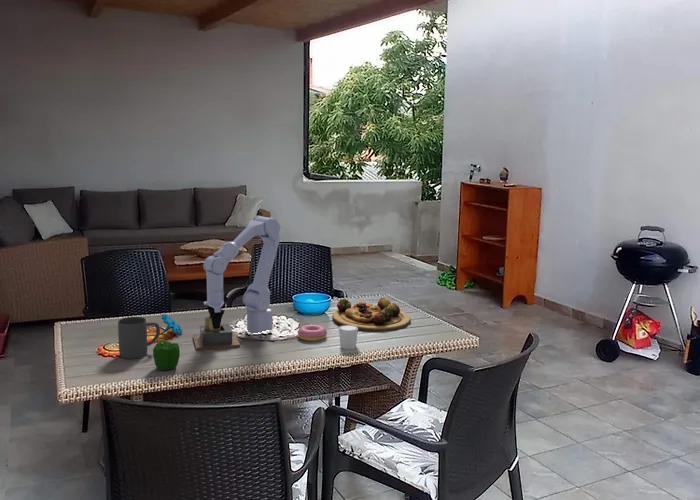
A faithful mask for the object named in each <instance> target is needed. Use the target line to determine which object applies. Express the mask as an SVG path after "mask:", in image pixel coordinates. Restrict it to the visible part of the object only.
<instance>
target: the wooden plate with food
mask: <svg viewBox="0 0 700 500" xmlns="http://www.w3.org/2000/svg"><path fill="white" fill-rule="evenodd" d="M336 307H337V310H334V312H333V313H332V315H331V318H332V321H333V322H334V323H335V324H336V325H338V326H339V327H340V326H344V325H353V326H356V327H358V332H359V331H360V332H368V333H369V332H370V333H371V332H373V333H375V332H377V333H378V332H380V333H381V332H391V331H397V330H401V329H404V328H406V327H408V326H409V325H410V323H411V317H410V315H409V314H408V313H407V312H405V311H402V310H401V309H400V307H399V305H398V304H397V303H395V302H391V301H390V300H389V299H388V298H387V297H385V296H381V297H380V299H379V300H378V302H377V304H376V305H375V304H373V303H366V302H364V301H359V302H356V303H354V305H352V303H351V301H350V300H348V299H347V298H340V299H339V301H338V302H337V304H336Z"/></svg>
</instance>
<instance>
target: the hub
mask: <svg viewBox="0 0 700 500" xmlns="http://www.w3.org/2000/svg"><path fill="white" fill-rule="evenodd" d="M220 330H221V331H211V332H209V331H208V330H207V331H205V324H204V325H199V334H192V338H193V342H194V345H195V346H194V347H195V350H196V351H208V350H209V351H210V350H220V349H233V348H240V346H241V344H240V341H239V339H238V337H237V335H236V333H235V331H232V328H231V326H230V324H229V323H221V324H220Z"/></svg>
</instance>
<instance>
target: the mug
mask: <svg viewBox="0 0 700 500" xmlns="http://www.w3.org/2000/svg"><path fill="white" fill-rule="evenodd" d="M150 326H155V328H156V329H155V330H156V334H155V336H154V337H153V338H152V339H151V340H149V341H148V329H147V327H150ZM160 328H161V327H160V325H159V324H158V323H157V322H147V318H145V317H141V316H129V317H124V318H121V319H119V320H118V322H117V331H118V332H117V336H118V351H119V352H118V353H119V357H120V358H122V359H127V360H134V359H135V360H136V359H140V358H143V357H146V356H147V355H148V346H149V347H150V346H151V345H153V344H154V343H155V342H156V341H157V340H158V339H159V337H160V334H161V333H160V332H161V329H160Z"/></svg>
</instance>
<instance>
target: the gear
mask: <svg viewBox="0 0 700 500" xmlns="http://www.w3.org/2000/svg"><path fill="white" fill-rule="evenodd" d="M161 320H163V321H162V322H163V324H166V327H165V329H164V330H163V331H164V332H166V333H167V332H168V331H169V330H171V331H172V332H173V333H176V334H177V335H182V334H183V329H182V328H181V325H179V324H178V322H177V320H176V319H175V318H174V319H173V318H172V317H171V316H169V315H168V314H166V313H165V314H164V313H163V314H161Z"/></svg>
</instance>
